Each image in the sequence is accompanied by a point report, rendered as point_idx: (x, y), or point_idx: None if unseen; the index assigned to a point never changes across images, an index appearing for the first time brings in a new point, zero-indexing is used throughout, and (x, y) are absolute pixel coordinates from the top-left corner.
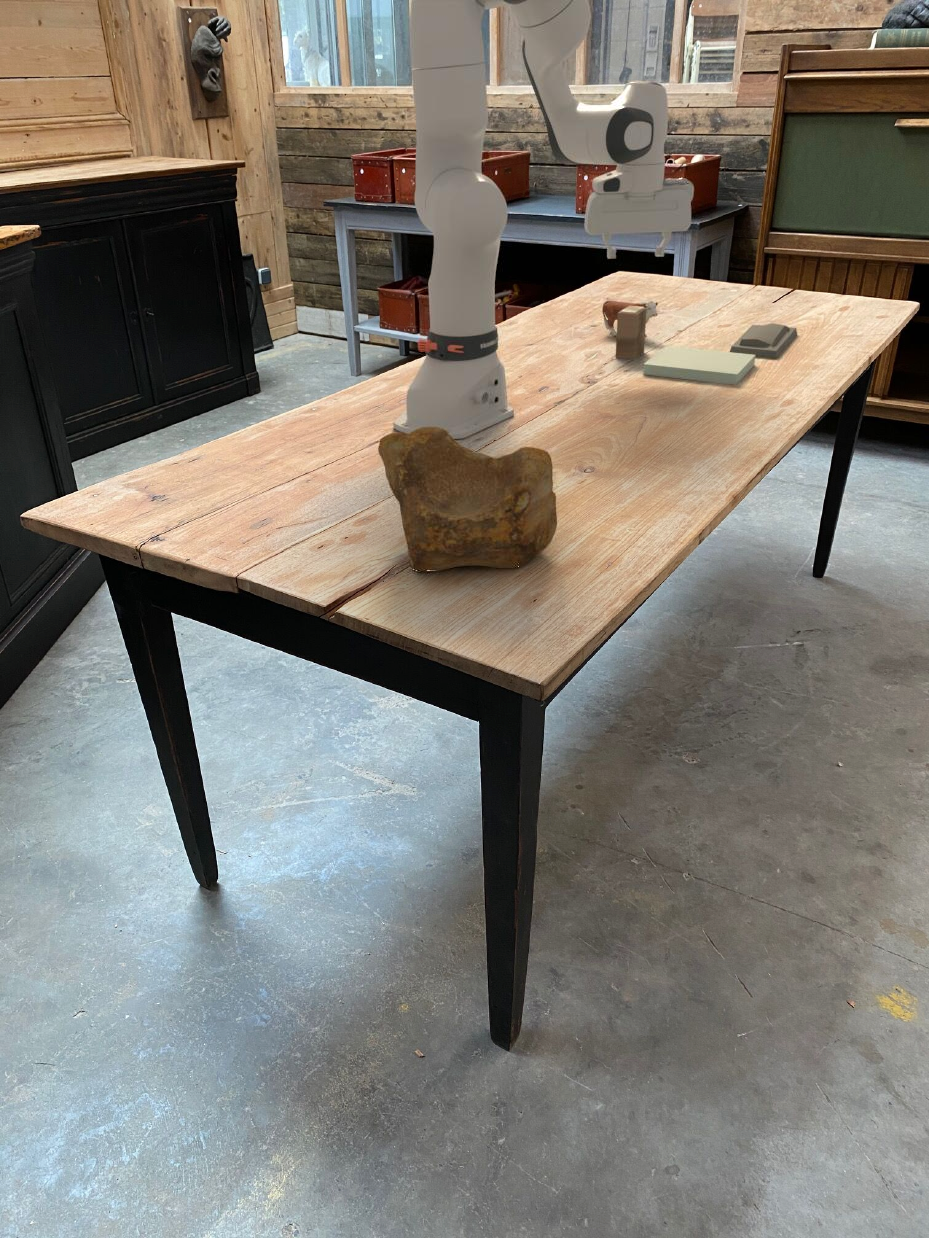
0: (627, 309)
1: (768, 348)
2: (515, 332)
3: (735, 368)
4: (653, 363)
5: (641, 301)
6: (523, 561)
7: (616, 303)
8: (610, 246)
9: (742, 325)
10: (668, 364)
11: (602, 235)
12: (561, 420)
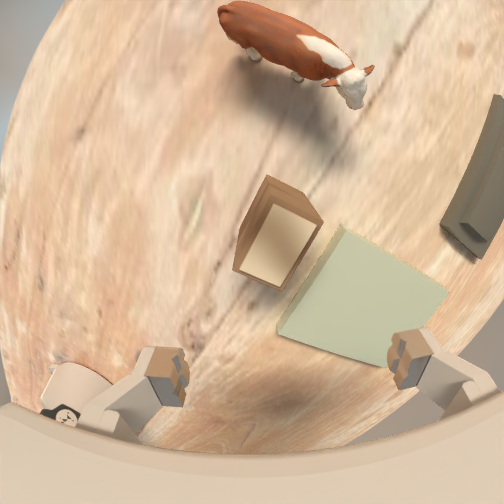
0: (261, 251)
1: (480, 246)
2: (62, 52)
3: None
4: (294, 332)
5: (329, 53)
6: None
7: (254, 26)
8: (150, 416)
9: (487, 60)
10: (316, 337)
11: (82, 421)
12: (177, 421)
